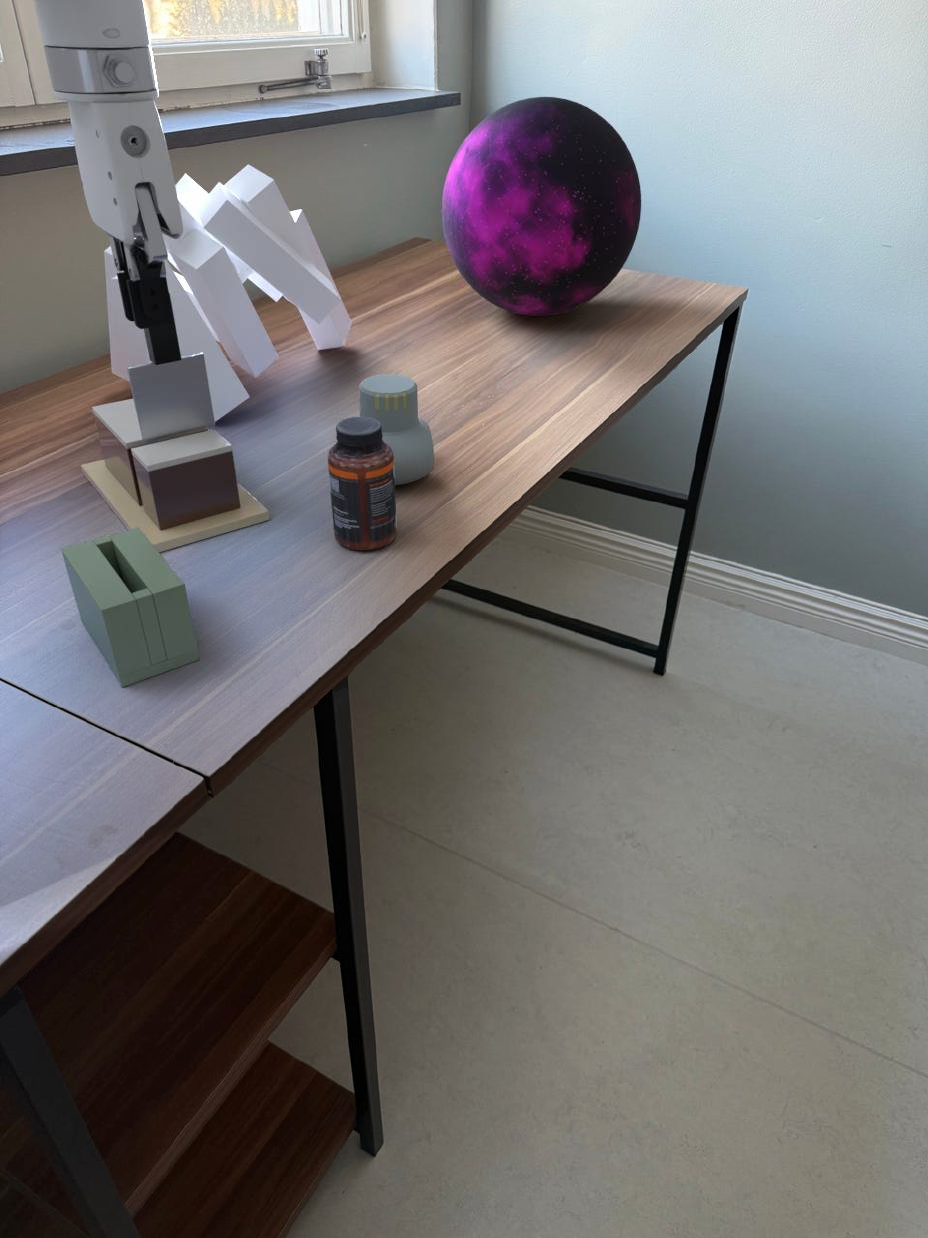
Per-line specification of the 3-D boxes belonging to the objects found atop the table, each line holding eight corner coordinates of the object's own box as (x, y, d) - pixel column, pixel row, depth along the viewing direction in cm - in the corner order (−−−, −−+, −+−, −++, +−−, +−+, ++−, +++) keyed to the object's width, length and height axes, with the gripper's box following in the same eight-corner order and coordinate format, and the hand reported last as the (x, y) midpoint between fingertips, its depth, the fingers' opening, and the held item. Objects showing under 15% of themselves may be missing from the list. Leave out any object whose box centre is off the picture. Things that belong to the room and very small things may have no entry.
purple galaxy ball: (420, 331, 133) (418, 102, 116) (463, 280, 157) (467, 83, 140) (619, 350, 128) (649, 113, 111) (633, 294, 152) (659, 92, 135)
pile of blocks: (236, 358, 138) (76, 139, 114) (404, 297, 126) (266, 39, 102) (163, 516, 116) (-53, 287, 92) (357, 460, 105) (168, 182, 81)
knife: (211, 421, 86) (188, 283, 78) (218, 427, 85) (195, 287, 77) (140, 438, 83) (109, 296, 75) (146, 444, 82) (115, 300, 74)
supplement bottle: (406, 528, 85) (404, 416, 79) (382, 558, 81) (377, 443, 74) (350, 517, 87) (343, 407, 80) (322, 546, 82) (312, 432, 75)
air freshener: (436, 495, 91) (437, 401, 85) (356, 500, 90) (350, 406, 84) (422, 450, 100) (421, 362, 94) (348, 454, 98) (343, 366, 92)
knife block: (200, 659, 68) (185, 583, 64) (122, 688, 65) (101, 610, 61) (154, 598, 75) (138, 526, 71) (81, 622, 72) (60, 548, 68)
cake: (148, 555, 80) (132, 480, 76) (82, 473, 93) (65, 404, 89) (270, 519, 86) (261, 447, 82) (192, 446, 99) (180, 381, 95)
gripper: (191, 82, 63) (227, 339, 74) (119, 65, 73) (160, 293, 84) (84, 86, 59) (138, 356, 70) (24, 68, 70) (79, 305, 81)
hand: (149, 320), depth 77 cm, fingers closed on knife, 1 cm apart
